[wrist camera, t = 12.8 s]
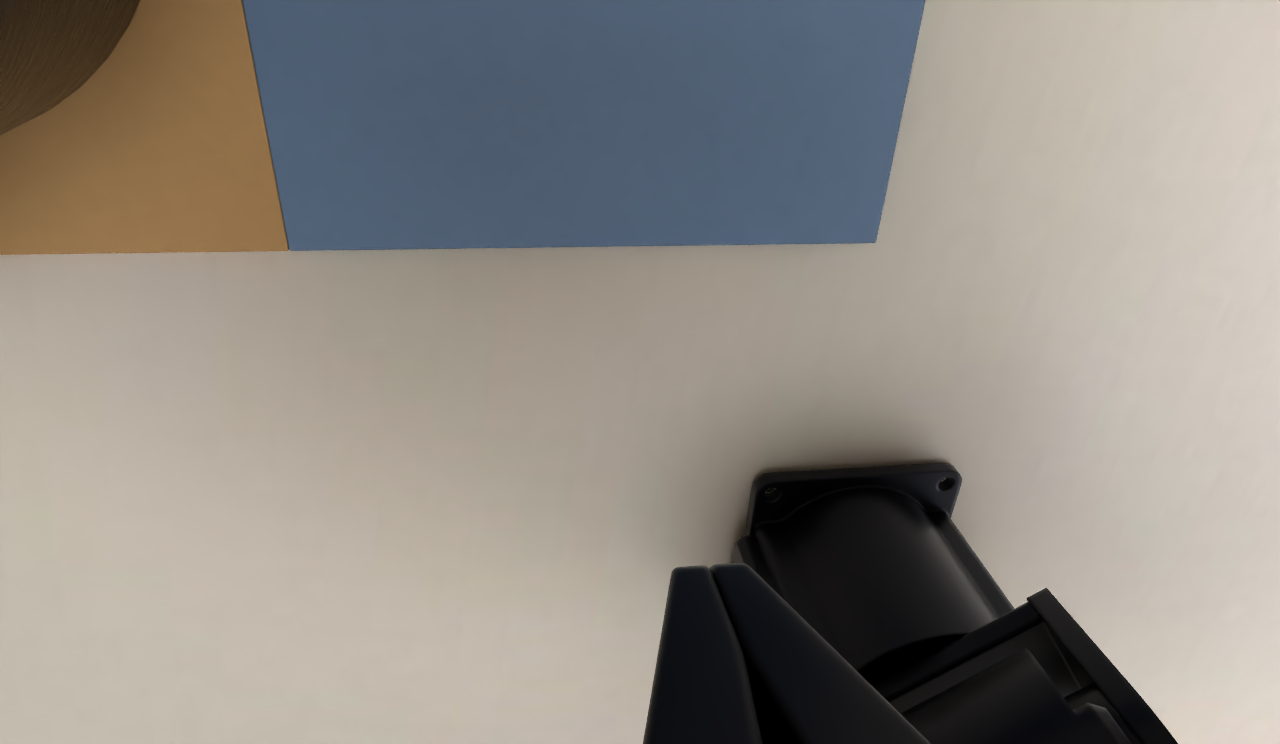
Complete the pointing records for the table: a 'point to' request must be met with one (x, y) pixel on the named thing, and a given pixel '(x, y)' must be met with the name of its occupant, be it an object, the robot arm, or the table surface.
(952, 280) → the table surface
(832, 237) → the desk mat
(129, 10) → the pot
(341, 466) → the table surface
